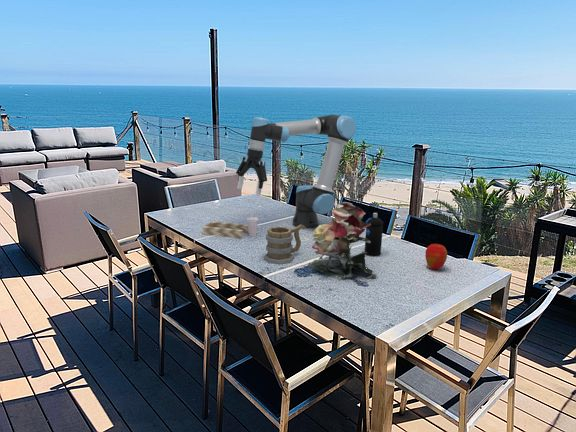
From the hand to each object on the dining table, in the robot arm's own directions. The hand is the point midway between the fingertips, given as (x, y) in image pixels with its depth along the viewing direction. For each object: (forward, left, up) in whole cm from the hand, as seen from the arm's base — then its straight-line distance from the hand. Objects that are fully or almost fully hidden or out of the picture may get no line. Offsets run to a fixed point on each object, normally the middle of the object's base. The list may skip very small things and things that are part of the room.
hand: (248, 191), depth 218 cm
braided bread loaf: (+16, -9, -26) cm, 32 cm away
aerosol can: (-63, -1, -26) cm, 68 cm away
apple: (-91, +10, -26) cm, 95 cm away
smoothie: (+1, -9, -26) cm, 28 cm away
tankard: (-25, +17, -26) cm, 40 cm away
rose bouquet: (-51, +23, -26) cm, 61 cm away
